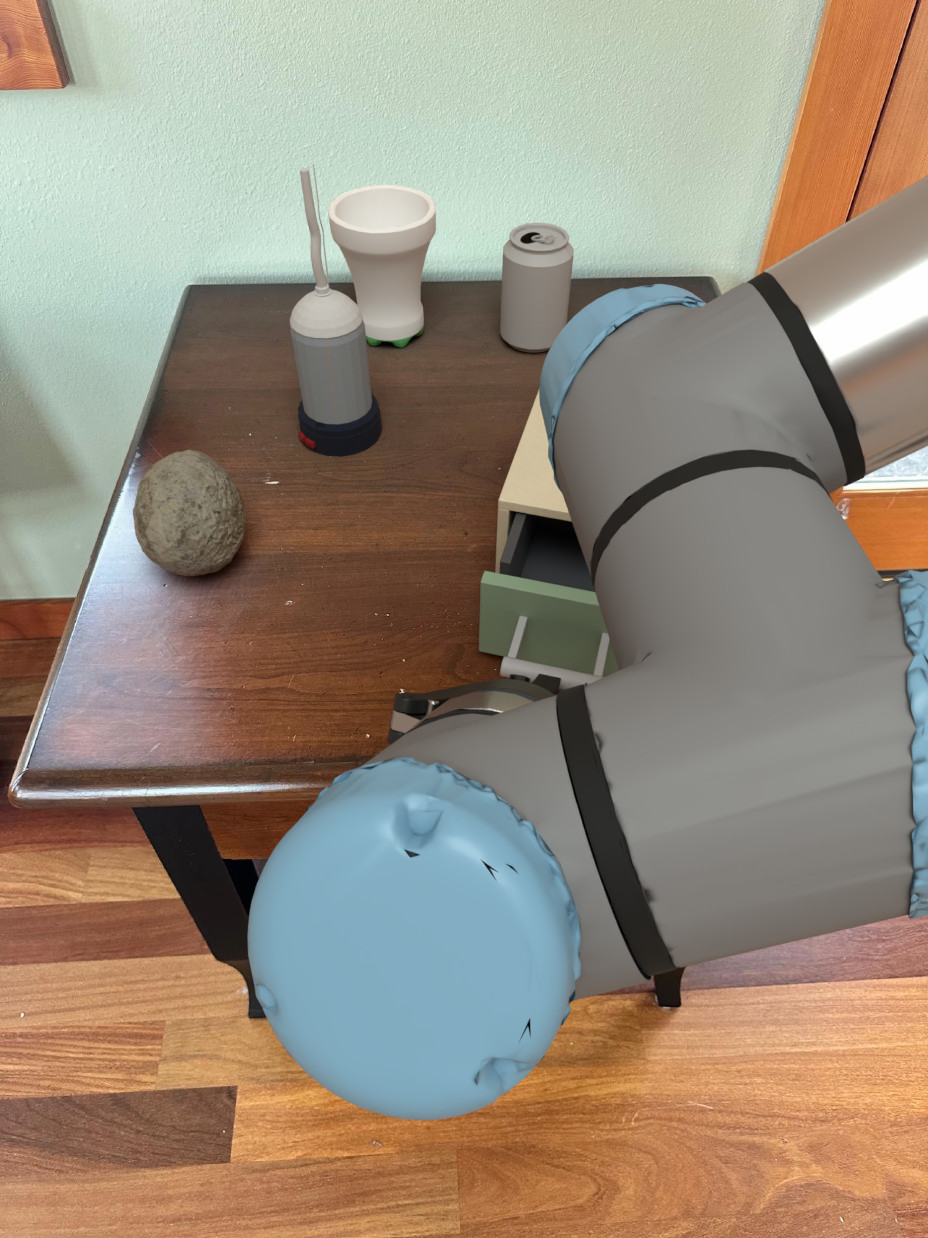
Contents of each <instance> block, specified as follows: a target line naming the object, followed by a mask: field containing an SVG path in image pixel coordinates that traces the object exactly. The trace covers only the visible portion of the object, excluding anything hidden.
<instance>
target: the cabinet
mask: <svg viewBox="0 0 928 1238" xmlns="http://www.w3.org/2000/svg"><path fill="white" fill-rule="evenodd" d="M548 446H549V443H548V438H547V433H546V429H545V424H544V420H543V416H542V411H541V407H540V400H539V390H538V391H537V393H536V396H535V399H534V402H533V404H532V407H531V409H530V413H529V415H528V418H527V421H526V423H525V426H524V428H523V432H522V434H521V437H520V440H519V441H518V446H517V448H516V451H515V453H514V456H513V458H512V461H511V464H510V467H509V470H508V473H507V475H506V478H505V480H504V484H503V485H502V489H501V491H500V495H499V497H498V499H497V500H498V501H497V523H496V524H497V525H496V543H495V544H496V545H495V546H496V548H495V569H494V570H495V572H494V573H499V571H500V560H501V557H502V554H503V551H504V548H505V545H506V542H507V539H508V536H509V533H510V530H511V527H512V524H513V521H514V518H515V515H516V513H517V512H521V513H527V514H532V515H538V516H543V517H549V518H554V519H560V520H565V521H571V522H572V520H571V517H570V514H569V512H568V509H567V506H566V503H565V500H564V497H563V494H562V493H561V491H560V490H559V488H558V487H557V485H556V483H555V480H554V471H553V468H552V466H551V463H550V460H549V458H548Z"/></svg>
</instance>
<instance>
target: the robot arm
mask: <svg viewBox="0 0 928 1238" xmlns="http://www.w3.org/2000/svg"><path fill="white" fill-rule="evenodd" d="M538 391H539V400H540V407H541V411H542V416H543V420H544V424H545V429H546V433H547V438H548V443H549V446H548V458H549V460H550V463H551V466H552V468H553V471H554V480H555V483H556V485H557V487H558V488H559V490H560V491H561V493H562V494H563V497H564V500H565V503H566V506H567V509H568V512H569V514H570V517H571V520H572V523H573V526H574V529H575V532H576V535H577V538H578V541H579V543H580V546H581V549H582V552H583V555H584V558H585V561H586V564H587V567H588V569H589V572H590V575H591V580H592V584H593V587H594V590H595V593H596V596H597V600H598V603H599V606H600V609H601V613H602V616H603V619H604V622H605V626H606V629H607V632H608V635H609V638H610V642H611V645H612V648H613V651H614V654H615V658H616V661H617V664H618V667H619V671H617V672H615V673H612V674H610V675H608V676H606V677H604V678H601V679H599V680H597V681H595V682H593V683H590V684H587V682H586V683H585V684H581V685H578V686H575V687H572V688H568V689H565V690H562V689H561V690H560V689H559V687H560V682H561V678H558V677H554V676H549V675H544V674H538V676H537V677H536V678H535V680H534V681H533V682H532V683H530V678H529V677H526V676H522V675H516V674H511V675H510V678H497V679H489V680H483V681H475V682H471V683H466V684H461V685H457V686H451V687H447V688H446V687H445V688H442V689H437V690H432V691H427V692H408V691H403V692H398V693H395V696H394V701H393V707H392V713H391V718H390V722H389V723H390V724H389V729H388V735H387V740H386V743H387V745H389V746H387V747H386V748H384V749H382V751H380V752H379V753H377V754H376V755H375V756H373V757H372V758H370V759H369V760H367V761H366V762H365V763H364V764H362V765H361V766H358V767H354V768H352V769H348V770H346V771H345V772H342V773H341V774H339V775H338V776H336V777H334V779H333V780H332V783H331V785H330V786H328V785H326V786H325V788H323V789H322V790H321V791H320V792H319V794H318V795H317V798H316V800H315V801H314V802H312V803H311V804H310V805H309V806H307V808H306V810H305V812H304V813H303V815H302V816H301V817H300V818H299V819H298V821H296V822H295V824H293V826H292V827H291V828H290V829H289V830H288V831H287V832H286V833H285V835H283V836H282V838H281V839H280V841H278V842H277V845H275V847H274V849H273V851H272V852H271V854H270V856H269V857H268V859H267V861H266V863H265V864H264V866H263V868H262V870H261V873H260V876H259V878H258V881H257V883H256V885H255V889H254V892H253V895H252V898H251V903H250V908H249V914H248V923H247V953H248V954H247V957H248V961H249V965H250V971H251V976H252V981H253V985H254V993H255V997H256V999H257V1001H258V1002H259V1004H260V1006H261V1008H262V1010H263V1013H264V1015H265V1017H266V1019H267V1022H268V1024H269V1026H270V1028H271V1030H272V1032H273V1033H274V1035H275V1037H276V1038H277V1040H278V1042H280V1044H281V1046H282V1047H283V1049H284V1050H285V1052H286V1053H287V1054H288V1055H289V1056H290V1057H291V1058H292V1059H293V1060H294V1062H295V1063H296V1065H298V1066H299V1067H300V1068H301V1069H302V1070H303V1071H304V1072H305V1074H307V1075H308V1076H309V1077H310V1078H312V1079H313V1081H315V1082H316V1083H317V1084H319V1085H320V1086H321V1087H322V1088H324V1089H325V1090H327V1091H328V1092H330V1093H331V1094H333V1095H335V1096H336V1097H337V1098H340V1099H341V1100H342V1101H345V1102H347V1103H349V1104H352V1105H354V1106H355V1107H358V1108H360V1109H362V1110H365V1111H369V1112H372V1113H375V1114H377V1115H382V1116H385V1117H391V1118H396V1119H400V1120H409V1121H411V1120H412V1121H437V1120H438V1121H439V1120H444V1119H452V1118H456V1117H460V1116H464V1115H468V1114H470V1113H473V1112H477V1111H479V1110H481V1109H484V1108H485V1107H488V1106H490V1105H493V1104H494V1103H495V1102H496V1101H497V1100H498V1099H499V1098H500V1097H501V1096H503V1095H505V1094H507V1093H508V1092H510V1091H511V1090H512V1089H513V1088H514V1087H516V1086H517V1085H518V1084H520V1083H521V1082H522V1081H523V1080H524V1079H526V1078H527V1076H528V1075H529V1074H530V1073H531V1072H532V1071H533V1070H534V1069H535V1067H536V1066H537V1065H538V1064H539V1063H540V1062H541V1061H542V1060H543V1059H544V1057H545V1056H546V1054H547V1053H548V1051H549V1049H550V1047H551V1046H552V1044H553V1042H554V1041H555V1038H556V1037H557V1035H558V1033H559V1029H560V1028H561V1027H563V1025H564V1024H565V1022H566V1020H567V1018H568V1017H569V1015H570V1014H571V1003H572V1002H574V1001H578V1000H582V999H587V998H590V997H595V996H598V995H602V994H603V995H604V994H606V993H611V992H614V991H618V990H622V989H623V990H624V989H627V988H631V987H634V986H639V985H642V984H646V983H650V981H651V980H652V977H653V976H657V975H661V974H666V973H669V972H673V971H675V970H678V969H681V968H686V967H690V966H694V965H698V964H703V963H707V962H712V961H716V960H720V959H721V960H722V959H724V958H729V957H733V956H737V955H742V954H746V953H750V952H754V951H760V950H763V949H767V948H772V947H776V946H780V945H785V944H789V943H793V942H798V941H802V940H806V939H811V938H814V937H819V936H824V935H828V934H832V933H836V932H840V931H841V932H842V931H844V930H849V929H853V928H858V927H862V926H866V925H871V924H874V923H880V922H883V921H888V920H892V919H896V918H901V917H905V916H907V918H908V919H909V920H910V921H911V920H915V919H919V918H922V917H926V916H928V570H924V571H918V570H913V569H908V570H907V571H904V572H901V573H898V574H896V575H894V576H893V578H892V579H889V580H884V579H883V578H882V576H881V575H880V573H879V572H878V570H877V569H876V567H875V566H874V563H872V561H871V559H870V558H869V556H868V555H867V553H866V551H865V550H864V549H863V547H862V545H861V543H860V542H859V541H858V539H857V538H856V536H855V534H854V533H853V531H852V530H851V527H850V526H849V524H848V523H847V522H846V520H845V519H844V517H843V515H842V513H840V511H839V509H838V508H837V506H836V504H835V503H834V500H833V498H832V497H831V494H833V493H834V492H836V491H837V490H839V489H841V488H842V487H847V486H849V485H852V484H854V483H856V482H858V481H860V480H862V479H863V480H864V479H865V477H866V476H868V475H870V474H872V473H875V472H876V471H878V470H880V469H882V468H885V467H887V466H889V465H891V464H893V463H895V462H897V461H900V460H901V459H904V458H906V457H907V456H910V455H912V454H914V453H917V452H918V451H920V450H922V449H924V448H927V447H928V174H927V175H926V176H924V177H922V178H920V179H919V180H917V181H915V182H913V183H912V184H910V185H908V186H906V187H905V188H903V189H902V190H900V191H898V192H896V193H894V194H893V195H891V196H889V197H887V198H886V199H884V200H882V201H881V202H879V203H877V204H876V205H874V206H872V207H870V208H869V209H867V210H865V211H864V212H862V213H860V214H858V215H856V216H854V217H853V218H852V219H850V220H848V221H846V222H845V223H843V224H841V225H840V226H838V227H836V228H834V229H833V230H831V231H829V232H827V233H826V234H824V235H823V236H821V237H819V238H817V239H816V240H813V241H811V243H808V244H807V245H805V246H803V247H802V248H800V249H798V250H797V251H795V252H793V253H792V254H790V255H788V256H786V257H785V258H782V259H781V260H780V261H778V262H776V263H775V264H772V265H771V266H769V267H767V268H766V269H764V270H762V272H761V273H759V274H758V275H756V276H755V277H753V278H751V279H749V280H748V281H746V282H742V283H740V284H738V285H736V286H734V287H733V288H731V289H730V290H727V291H726V292H724V293H722V294H721V295H719V296H717V297H715V298H714V299H712V300H710V301H709V302H707V303H706V302H705V301H703V300H702V299H701V298H700V297H699V296H697V295H696V294H694V293H693V292H691V291H689V290H687V289H685V288H681V287H678V286H675V285H671V284H665V283H654V284H652V285H640V286H639V285H638V286H633V287H629V288H623V287H621V288H618V289H615V290H613V291H610V292H608V293H606V294H603V295H602V296H600V297H598V298H596V299H594V300H593V301H592V302H591V303H589V304H587V305H585V306H584V307H583V308H582V309H581V310H580V311H578V312H577V313H576V314H574V316H572V318H571V319H570V320H569V321H567V324H566V325H565V327H564V328H563V329H562V331H561V332H560V333H559V334H558V336H557V337H556V339H555V341H554V343H553V344H552V346H551V348H550V349H549V350H548V351H547V354H546V357H545V359H544V362H543V366H542V368H541V373H540V379H539V388H538Z"/></svg>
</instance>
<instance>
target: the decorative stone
mask: <svg viewBox="0 0 928 1238" xmlns="http://www.w3.org/2000/svg"><path fill="white" fill-rule="evenodd" d="M132 516H133V525H134V526H133V527H134V532H135V537H136V540H137V542H138V544H139V546H140V547H141V551H142V552H143V553H144V555H145V556H146V557H147V558H148V559H149V560H150V561H152V562H153V563H155V564H156V565H157V566H159V567H161V568H163V570H166V571H169V572H171V573H173V574H175V575H178V576H179V575H180V576H183V577H184V576H185V577H195V576H204V575H207V574H212V573H217V572H219V571H221V569H223V568H224V567H225V566H227V565H228V564H229V563H230V562H232V560H233V558H234V557H235V554H237V552H238V551H239V548H240V547H241V545H242V544H243V541H244V537H245V532H246V531H245V529H246V526H245V525H246V519H247V510H246V505H245V501H244V500H243V497H242V494H241V493H240V488H239V487H238V486H237V484H236V482H234V479H233V477H232V476H231V474H230V473H229V472H228V470H226V469H225V468H224V467H223V466H221V465H220V464H218V462H216V461H215V460H214V459H212V458H211V457H210V456H209V455H208V454H206V453H204V452H202V451H198V450H194V449H190V448H189V449H187V450H183V451H175V452H173V453H170V454H169V455H167V456H165V457H163V458H161V459H159V460H158V461H156V462H154V463H153V464H152V465H151V466H150V467H149V468H148V469H147V470H146V471H145V473H144V474H143V475H142V477H141V480H140V481H139V483H138V485H137V493H136V497H135V501H134V505H133V508H132Z"/></svg>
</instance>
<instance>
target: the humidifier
mask: <svg viewBox="0 0 928 1238" xmlns="http://www.w3.org/2000/svg"><path fill="white" fill-rule="evenodd" d="M312 169H313V177H314V185H315V193H316V200H317V201H316V202H317V212H318V217H317V213H316V207H315V199H314V194H313V187H312V182H311V175H310V168H307V167H303V168H300V169H299V174H300V182H301V189H302V197H303V203H304V212H305V217H306V223H307V226H308V231H309V235H310V237H309V238H310V246H309V247H310V248H309V249H310V262H311V268H312V273H313V277H314V281H315V284H316V285H315V286H314V290H313V291H310V292H308V293H306V294H305V295H304V296H303V297H302V298H301V299H299V300H298V301H297V303H296V304H295V305H294V307H293V309H292V312H291V314H290V318H289V325H290V326H289V331H290V337H291V343H292V348H293V355H294V360H295V367H296V373H297V377H298V383H299V387H300V388H299V389H300V394H301V395H300V396H301V401H299V405H298V408H297V412H298V413H297V419H298V425H299V431H298V432H297V434H298V438H299V439H300V440H301V442H302V443H303V444H305V446H306V447H307V448H308V449H309V450H312V451H314V452H315V453H318V454H321V455H325V456H330V457H344V456H345V457H346V456H351V455H352V456H353V455H356V454H359V453H361V452H364V451H366V450H368V449H369V448H371V447H372V446H373V445H375V444H376V442H377V441H378V440H379V439H380V437H381V433H382V430H383V428H382V427H383V426H382V415H381V409H380V406H379V402H378V400H377V397H376V396H375V395H374V394H373V392H372V385H371V376H370V365H369V355H368V346H367V345H368V343H367V340H366V333H365V324H364V321H363V315H362V312H361V310H360V309H359V307H358V305H357V302H355V301H354V300H353V299H351V298H350V297H349V295H346V294H344V293H342V292H341V291H339V290H335V289H332V288H330V284H329V283H330V282H329V270H328V261H327V253H326V244H325V231H324V226H323V223H322V219H321V212H320V200H319V192H318V185H317V178H316V168H315V164H314V163H313V164H312ZM318 220H319V222H318ZM319 223H320V226H319ZM320 227H321V229H320ZM321 230H322V234H321ZM322 244H323V254H324V255H323V256H324V262H325V271H324V265H323V259H322ZM325 272H326V274H325Z"/></svg>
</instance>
